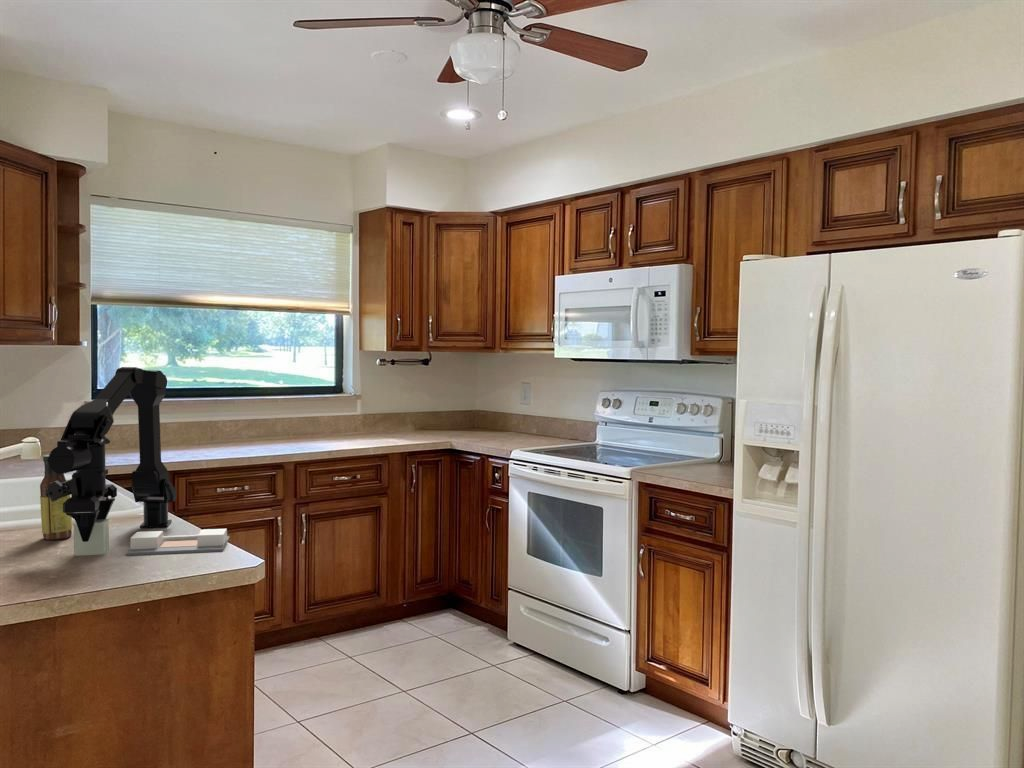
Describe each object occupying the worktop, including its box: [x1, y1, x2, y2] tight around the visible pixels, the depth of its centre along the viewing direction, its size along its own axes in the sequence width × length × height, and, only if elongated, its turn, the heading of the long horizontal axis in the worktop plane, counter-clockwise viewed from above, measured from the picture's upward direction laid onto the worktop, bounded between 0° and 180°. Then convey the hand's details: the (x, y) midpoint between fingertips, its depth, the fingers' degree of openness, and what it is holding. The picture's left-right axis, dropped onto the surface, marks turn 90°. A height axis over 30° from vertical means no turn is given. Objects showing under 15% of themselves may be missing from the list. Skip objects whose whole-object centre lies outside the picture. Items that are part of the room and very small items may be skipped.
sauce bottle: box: [39, 454, 73, 541], centre depth 188 cm, size 7×6×20 cm
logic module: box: [73, 518, 110, 557], centre depth 175 cm, size 4×6×7 cm, turn 103°
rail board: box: [125, 528, 230, 556], centre depth 181 cm, size 12×20×3 cm, turn 103°
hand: (91, 536), depth 175 cm, fingers open, 9 cm apart
